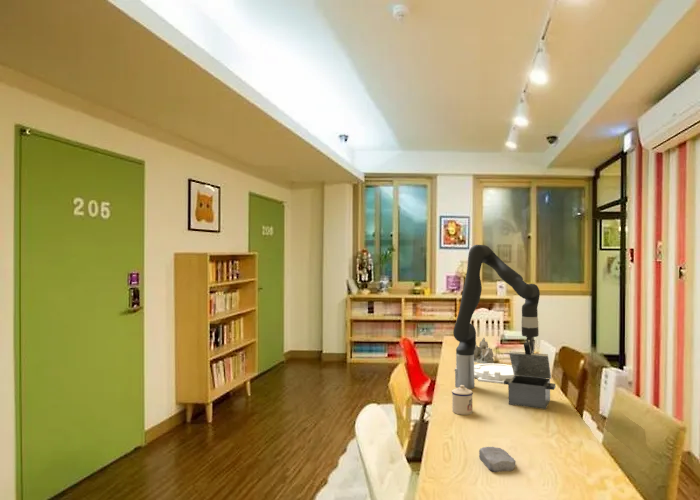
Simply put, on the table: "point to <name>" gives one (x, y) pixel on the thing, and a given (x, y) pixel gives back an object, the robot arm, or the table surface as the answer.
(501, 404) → the table surface
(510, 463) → the stone block
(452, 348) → the table surface
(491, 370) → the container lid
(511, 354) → the pot lid
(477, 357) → the stone figurine sculpture
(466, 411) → the teacup with lid
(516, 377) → the charcoal pot
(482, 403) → the table surface
